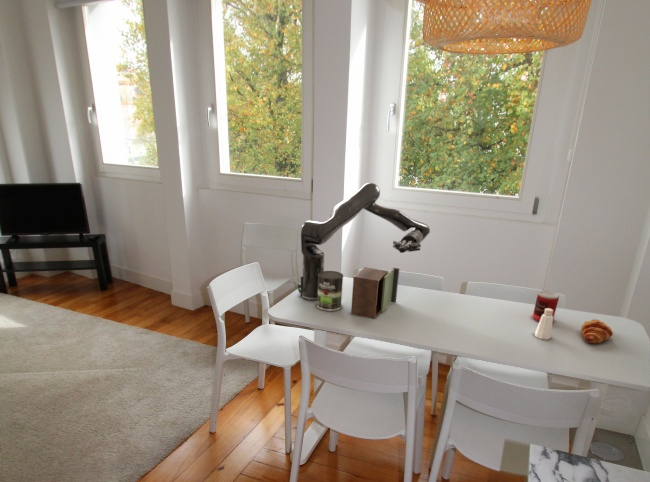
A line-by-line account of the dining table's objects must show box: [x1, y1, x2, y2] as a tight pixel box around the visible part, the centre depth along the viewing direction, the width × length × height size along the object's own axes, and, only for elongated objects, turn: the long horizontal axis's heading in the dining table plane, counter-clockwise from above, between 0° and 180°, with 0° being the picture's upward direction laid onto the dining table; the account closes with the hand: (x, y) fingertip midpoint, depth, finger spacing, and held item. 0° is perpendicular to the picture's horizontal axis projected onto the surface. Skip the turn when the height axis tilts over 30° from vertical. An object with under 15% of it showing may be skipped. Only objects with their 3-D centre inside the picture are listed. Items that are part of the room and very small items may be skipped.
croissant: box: [580, 319, 614, 344], centre depth 174 cm, size 21×10×8 cm, turn 141°
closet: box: [350, 267, 389, 320], centre depth 191 cm, size 10×14×16 cm
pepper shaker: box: [534, 308, 554, 341], centre depth 172 cm, size 5×5×11 cm
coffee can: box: [316, 270, 344, 312], centre depth 194 cm, size 10×10×14 cm
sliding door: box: [380, 267, 400, 313], centre depth 194 cm, size 3×14×15 cm, turn 155°
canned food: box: [532, 290, 560, 323], centre depth 187 cm, size 8×8×11 cm
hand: (401, 250), depth 199 cm, fingers closed
